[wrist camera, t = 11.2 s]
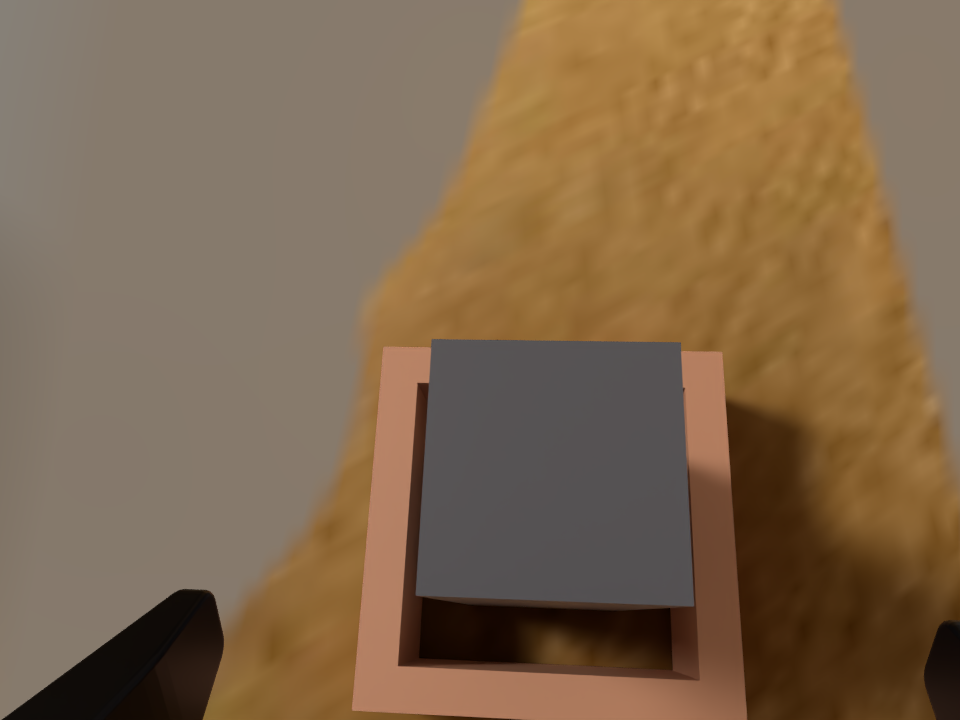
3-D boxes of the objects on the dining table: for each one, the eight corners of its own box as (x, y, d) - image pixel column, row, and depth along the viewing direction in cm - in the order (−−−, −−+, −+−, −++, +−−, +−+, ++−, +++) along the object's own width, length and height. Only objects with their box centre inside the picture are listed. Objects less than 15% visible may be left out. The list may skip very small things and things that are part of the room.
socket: (712, 712, 20) (747, 731, 17) (380, 695, 21) (351, 710, 17) (694, 389, 23) (721, 351, 20) (404, 384, 24) (383, 347, 20)
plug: (614, 610, 21) (693, 607, 11) (472, 605, 21) (415, 595, 11) (611, 469, 22) (680, 342, 12) (478, 466, 23) (431, 339, 12)
